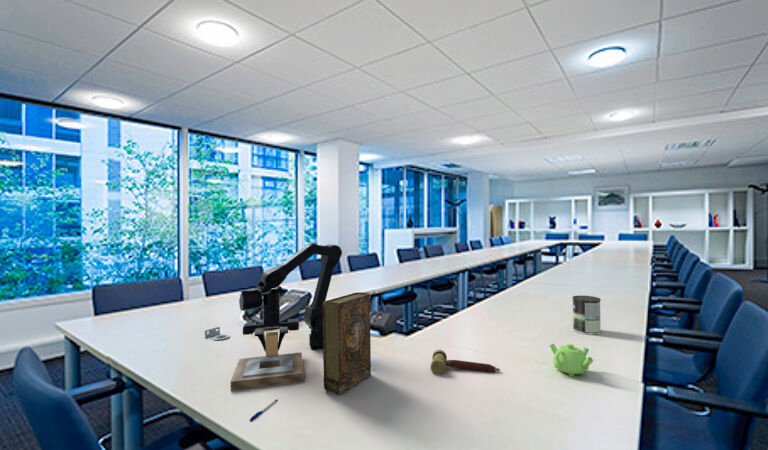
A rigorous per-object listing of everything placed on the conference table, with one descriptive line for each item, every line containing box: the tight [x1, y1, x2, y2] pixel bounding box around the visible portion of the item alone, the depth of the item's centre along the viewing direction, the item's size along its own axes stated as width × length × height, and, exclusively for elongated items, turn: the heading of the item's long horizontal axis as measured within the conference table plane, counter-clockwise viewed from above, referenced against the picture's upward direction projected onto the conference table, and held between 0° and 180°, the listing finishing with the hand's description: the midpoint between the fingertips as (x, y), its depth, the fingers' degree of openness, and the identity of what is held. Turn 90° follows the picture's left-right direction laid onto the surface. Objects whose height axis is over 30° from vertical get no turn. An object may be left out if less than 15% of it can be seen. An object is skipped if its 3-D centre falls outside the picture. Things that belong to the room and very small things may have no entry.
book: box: [322, 291, 372, 396], centre depth 103 cm, size 16×6×25 cm, turn 148°
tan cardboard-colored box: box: [265, 331, 279, 356], centre depth 125 cm, size 4×4×8 cm
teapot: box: [549, 343, 594, 378], centre depth 109 cm, size 11×12×8 cm
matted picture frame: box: [230, 352, 305, 392], centre depth 111 cm, size 20×18×3 cm
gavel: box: [430, 349, 501, 375], centre depth 111 cm, size 21×5×10 cm
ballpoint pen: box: [249, 398, 278, 422], centre depth 89 cm, size 10×1×1 cm, turn 163°
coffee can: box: [572, 295, 602, 336], centre depth 149 cm, size 10×10×14 cm
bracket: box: [204, 326, 231, 341], centre depth 149 cm, size 7×10×4 cm, turn 57°
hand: (272, 350), depth 125 cm, fingers closed on tan cardboard-colored box, 4 cm apart
